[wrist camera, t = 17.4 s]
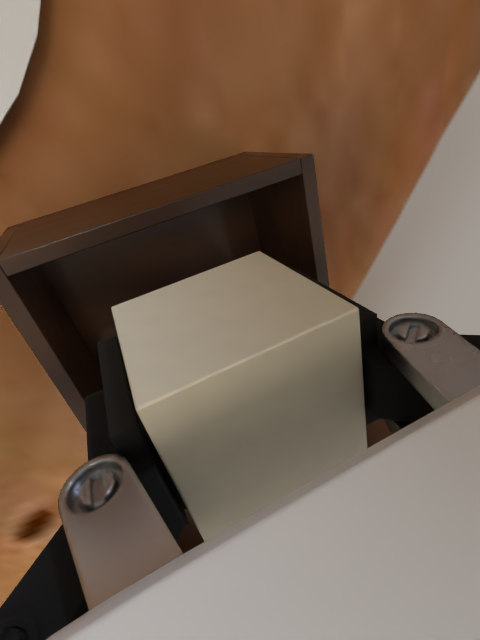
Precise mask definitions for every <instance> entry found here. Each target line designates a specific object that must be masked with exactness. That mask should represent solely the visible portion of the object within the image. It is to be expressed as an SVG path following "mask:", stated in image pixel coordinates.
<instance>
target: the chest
mask: <svg viewBox="0 0 480 640" xmlns="http://www.w3.org/2000/svg"><path fill="white" fill-rule="evenodd" d="M258 251H260V252H262V253H264V254H265V255H267V256H269V257H271V258H272V259H274V260H276V261H278V262H279V263H281V264H283V265H285V266H286V267H288V266H292V267H293V268H295V269H297V270H299V271H301V272H302V273H304V274H306V275H308V276H310V277H311V278H313V279H315V280H317V281H318V282H320V283H322V284H324V285H326V286H327V287H329V280H328V272H327V264H326V256H325V247H324V239H323V231H322V223H321V214H320V206H319V198H318V190H317V181H316V173H315V165H314V157H313V154H297V153H264V152H243V153H240V154H237V155H234V156H231V157H228V158H225V159H221V160H218V161H215V162H212V163H209V164H206V165H203V166H200V167H196V168H193V169H190V170H187V171H184V172H181V173H178V174H174V175H171V176H168V177H165V178H162V179H159V180H156V181H152V182H149V183H146V184H143V185H140V186H137V187H134V188H130V189H127V190H124V191H121V192H118V193H115V194H112V195H109V196H105V197H102V198H99V199H96V200H93V201H90V202H87V203H83V204H80V205H77V206H74V207H71V208H68V209H65V210H61V211H58V212H55V213H52V214H49V215H46V216H43V217H39V218H36V219H33V220H30V221H27V222H24V223H21V224H17V225H14V226H11V227H8V228H7V229H6V230H5V231H4V233H3V234H2V235H1V237H0V303H1V305H2V306H3V308H4V309H5V311H6V312H7V314H8V315H9V317H10V318H11V320H12V321H13V323H14V324H15V326H16V327H17V329H18V330H19V332H20V333H21V335H22V336H23V338H24V339H25V341H26V342H27V344H28V345H29V347H30V348H31V350H32V351H33V353H34V354H35V356H36V357H37V359H38V360H39V362H40V363H41V365H42V366H43V368H44V369H45V371H46V372H47V374H48V375H49V377H50V378H51V380H52V381H53V383H54V384H55V386H56V387H57V389H58V390H59V392H60V393H61V395H62V396H63V398H64V399H65V401H66V402H67V404H68V405H69V407H70V408H71V410H72V411H73V413H74V414H75V416H76V417H77V419H78V420H79V422H80V423H81V425H82V426H83V428H84V429H85V431H86V432H87V428H86V409H85V397H86V396H88V395H90V394H93V393H95V392H97V391H100V390H102V389H103V385H102V378H101V370H100V362H99V354H98V347H97V343H98V342H101V341H103V340H106V339H108V338H111V337H113V336H117V337H118V335H117V331H116V326H115V322H114V318H113V314H112V310H111V307H113V306H115V305H118V304H121V303H123V302H126V301H128V300H131V299H134V298H136V297H139V296H142V295H144V294H147V293H150V292H152V291H155V290H157V289H160V288H163V287H165V286H168V285H171V284H173V283H176V282H179V281H181V280H184V279H186V278H189V277H192V276H194V275H197V274H200V273H202V272H205V271H208V270H210V269H213V268H215V267H218V266H221V265H223V264H226V263H229V262H231V261H234V260H237V259H239V258H242V257H244V256H247V255H250V254H252V253H255V252H258Z"/></svg>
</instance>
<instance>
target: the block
mask: <svg viewBox="0 0 480 640" xmlns="http://www.w3.org/2000/svg"><path fill="white" fill-rule="evenodd" d="M111 310H112V314H113V318H114V322H115V326H116V331H117V335H118V339H119V343H120V347H121V351H122V355H123V359H124V364H125V368H126V372H127V376H128V380H129V384H130V388H131V393H132V397H133V401H134V405H135V409H136V411H137V413H138V415H139V417H140V419H141V421H142V423H143V425H144V427H145V429H146V431H147V433H148V434H149V436H150V438H151V440H152V442H153V444H154V446H155V448H156V450H157V452H158V454H159V456H160V457H161V459H162V461H163V463H164V465H165V467H166V469H167V471H168V473H169V475H170V477H171V479H172V480H173V482H174V484H175V486H176V488H177V490H178V492H179V494H180V496H181V498H182V500H183V502H184V504H185V505H186V507H187V509H188V511H189V513H190V515H191V517H192V519H193V521H194V523H195V525H196V527H197V528H198V530H199V532H200V534H201V536H202V538H203V540H204V542H205V541H207V540H208V539H210V538H212V537H214V536H215V535H217V534H219V533H221V532H222V531H224V530H226V529H228V528H229V527H231V526H233V525H234V524H236V523H238V522H240V521H241V520H243V519H245V518H247V517H248V516H250V515H252V514H254V513H255V512H257V511H259V510H261V509H262V508H264V507H266V506H267V505H269V504H271V503H273V502H274V501H276V500H278V499H280V498H281V497H283V496H285V495H287V494H288V493H290V492H292V491H293V490H295V489H297V488H299V487H301V486H302V485H304V484H306V483H308V482H309V481H311V480H313V479H315V478H316V477H318V476H320V475H322V474H323V473H325V472H327V471H329V470H330V469H332V468H334V467H336V466H337V465H339V464H341V463H343V462H344V461H346V460H348V459H350V458H351V457H353V456H355V455H357V454H358V453H360V452H362V451H364V450H365V449H367V432H366V416H365V400H364V384H363V367H362V351H361V335H360V319H359V309H358V307H356V306H354V305H353V304H351V303H349V302H347V301H346V300H344V299H342V298H340V297H339V296H337V295H335V294H333V293H332V292H330V291H328V290H326V289H325V288H323V287H321V286H319V285H318V284H316V283H314V282H312V281H311V280H309V279H307V278H306V277H304V276H302V275H300V274H299V273H297V272H295V271H293V270H292V269H290V268H288V267H286V266H285V265H283V264H281V263H279V262H278V261H276V260H274V259H272V258H271V257H269V256H267V255H265V254H264V253H262V252H260V251H258V252H255V253H252V254H250V255H247V256H244V257H242V258H239V259H237V260H234V261H231V262H229V263H226V264H223V265H221V266H218V267H215V268H213V269H210V270H208V271H205V272H202V273H200V274H197V275H194V276H192V277H189V278H186V279H184V280H181V281H179V282H176V283H173V284H171V285H168V286H165V287H163V288H160V289H157V290H155V291H152V292H150V293H147V294H144V295H142V296H139V297H136V298H134V299H131V300H128V301H126V302H123V303H121V304H118V305H115V306H113V307H111Z"/></svg>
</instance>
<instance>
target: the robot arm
mask: <svg viewBox="0 0 480 640" xmlns="http://www.w3.org/2000/svg"><path fill="white" fill-rule="evenodd" d="M288 268H290V269H292V270H293V271H295V272H297V273H299V274H300V275H302V276H304V277H306V278H307V279H309V280H311V281H312V282H314V283H316V284H318V285H319V286H321V287H323V288H325V289H326V290H328V291H330V292H332V293H333V294H335V295H337V296H339V297H340V298H342V299H344V300H346V301H347V302H349V303H351V304H353V305H354V306H356V307H358V309H359V319H360V335H361V351H362V367H363V384H364V400H365V416H366V426H367V425H369V424H370V423H372V422H374V421H376V420H378V419H384V421H385V423H386V425H387V427H388V428H389V430H390V431H391V433H392V435H390V436H388V437H387V438H385V439H383V440H381V441H380V442H378V443H376V444H374V445H373V446H371V447H369V448H367V449H365V450H364V451H362V452H360V453H358V454H357V455H355V456H353V457H351V458H350V459H348V460H346V461H344V462H343V463H341V464H339V465H337V466H336V467H334V468H332V469H330V470H329V471H327V472H325V473H323V474H322V475H320V476H318V477H316V478H315V479H313V480H311V481H309V482H308V483H306V484H304V485H302V486H301V487H299V488H297V489H295V490H293V491H292V492H290V493H288V494H287V495H285V496H283V497H281V498H280V499H278V500H276V501H274V502H273V503H271V504H269V505H267V506H266V507H264V508H262V509H261V510H259V511H257V512H255V513H254V514H252V515H250V516H248V517H247V518H245V519H243V520H241V521H240V522H238V523H236V524H234V525H233V526H231V527H229V528H228V529H226V530H224V531H222V532H221V533H219V534H217V535H215V536H214V537H212V538H210V539H208V540H207V541H205V542H203V543H201V544H200V545H198V546H196V547H195V548H193V549H191V550H189V551H188V552H186V553H184V554H183V552H182V551H181V549H180V547H179V546H178V544H177V540H178V538H179V536H180V534H181V532H182V530H183V528H184V526H185V525H187V524H189V522H188V519H187V515H186V512H185V509H187V507H186V505H185V504H184V502H183V500H182V498H181V496H180V494H179V492H178V490H177V488H176V486H175V484H174V482H173V480H172V479H171V477H170V475H169V473H168V471H167V469H166V467H165V465H164V463H163V461H162V459H161V457H160V456H159V454H158V452H157V450H156V448H155V446H154V444H153V442H152V440H151V438H150V436H149V434H148V433H147V431H146V429H145V427H144V425H143V423H142V421H141V419H140V417H139V415H138V413H137V411H136V409H135V405H134V401H133V397H132V393H131V388H130V384H129V380H128V376H127V372H126V368H125V364H124V359H123V355H122V351H121V347H120V343H119V339H118V337H117V336H113V337H111V338H108V339H106V340H103V341H101V342H98V343H97V347H98V354H99V362H100V370H101V378H102V385H103V389H102V390H100V391H97V392H95V393H93V394H90V395H88V396H86V397H85V409H86V428H87V446H88V462H86V463H84V464H83V465H82V466H81V467H79V468H78V469H77V470H76V471H75V472H74V473H73V474H72V475H71V476H70V477H69V478H68V480H67V481H66V483H65V484H64V486H63V488H62V489H61V492H60V495H59V499H58V511H59V514H60V517H61V520H62V526H61V527H60V528H59V530H58V531H57V532H56V534H55V535H54V536H53V538H52V539H51V540H50V542H49V543H48V544H47V546H46V547H45V548H44V550H43V551H42V552H41V554H40V555H39V557H38V558H37V559H36V561H35V562H34V563H33V565H32V566H31V567H30V569H29V570H28V571H27V573H26V574H25V575H24V577H23V578H22V579H21V581H20V582H19V583H18V585H17V586H16V587H15V589H14V590H13V592H12V593H11V594H10V596H9V597H8V598H7V600H6V601H5V602H4V604H3V605H2V606H1V608H0V640H480V335H459V334H458V333H456V332H455V331H454V330H452V329H451V328H450V327H448V326H447V325H446V324H444V323H443V322H442V321H440V320H439V319H437V318H435V317H433V316H429V315H426V314H419V313H405V314H399V315H396V316H394V317H391V318H389V319H388V320H387V321H385V322H384V321H382V320H380V319H379V318H377V314H375V313H374V312H372V311H370V310H368V309H367V308H365V307H363V306H361V305H360V304H358V303H356V302H354V301H352V300H351V299H349V298H347V297H345V296H343V295H342V294H340V293H338V292H336V291H335V290H333V289H331V288H329V287H327V286H326V285H324V284H322V283H320V282H318V281H317V280H315V279H313V278H311V277H310V276H308V275H306V274H304V273H302V272H301V271H299V270H297V269H295V268H293V267H292V266H288Z"/></svg>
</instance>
